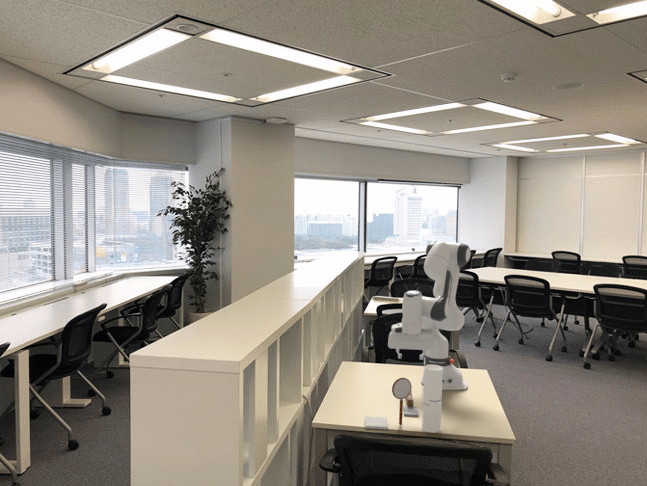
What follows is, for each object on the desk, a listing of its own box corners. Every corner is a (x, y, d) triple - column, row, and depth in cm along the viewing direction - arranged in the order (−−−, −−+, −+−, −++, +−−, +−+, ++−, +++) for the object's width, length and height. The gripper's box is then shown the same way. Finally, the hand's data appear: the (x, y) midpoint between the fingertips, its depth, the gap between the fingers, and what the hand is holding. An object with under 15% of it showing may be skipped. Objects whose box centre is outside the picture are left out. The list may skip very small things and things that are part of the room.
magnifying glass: (391, 428, 198) (393, 379, 197) (389, 426, 200) (391, 378, 198) (411, 425, 201) (412, 377, 200) (408, 424, 203) (410, 376, 201)
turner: (401, 396, 233) (401, 387, 232) (414, 397, 232) (414, 388, 232) (404, 416, 211) (404, 406, 210) (418, 417, 210) (419, 407, 210)
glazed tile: (386, 417, 206) (387, 427, 197) (386, 421, 206) (387, 431, 198) (365, 416, 207) (365, 425, 198) (364, 420, 207) (365, 429, 198)
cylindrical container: (439, 433, 195) (441, 371, 193) (420, 430, 197) (423, 368, 195) (441, 426, 201) (444, 365, 200) (423, 423, 204) (426, 363, 202)
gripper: (434, 327, 222) (433, 357, 223) (388, 325, 223) (387, 355, 225) (436, 330, 215) (435, 362, 216) (388, 328, 217) (387, 359, 218)
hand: (410, 358), depth 221 cm, fingers open, 8 cm apart
